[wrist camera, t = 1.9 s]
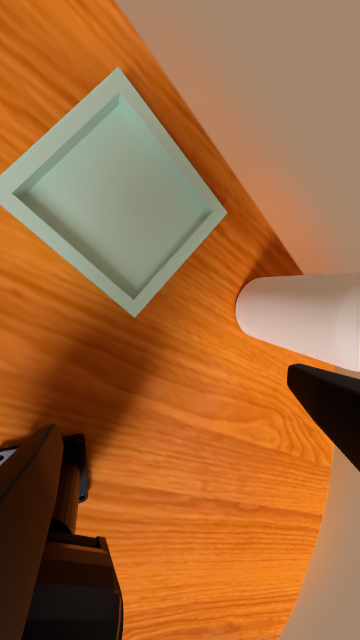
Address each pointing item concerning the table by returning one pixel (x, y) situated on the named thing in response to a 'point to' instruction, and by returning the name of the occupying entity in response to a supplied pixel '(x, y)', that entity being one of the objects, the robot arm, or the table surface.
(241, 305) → the can
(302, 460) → the table surface
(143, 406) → the table surface
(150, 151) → the tray
